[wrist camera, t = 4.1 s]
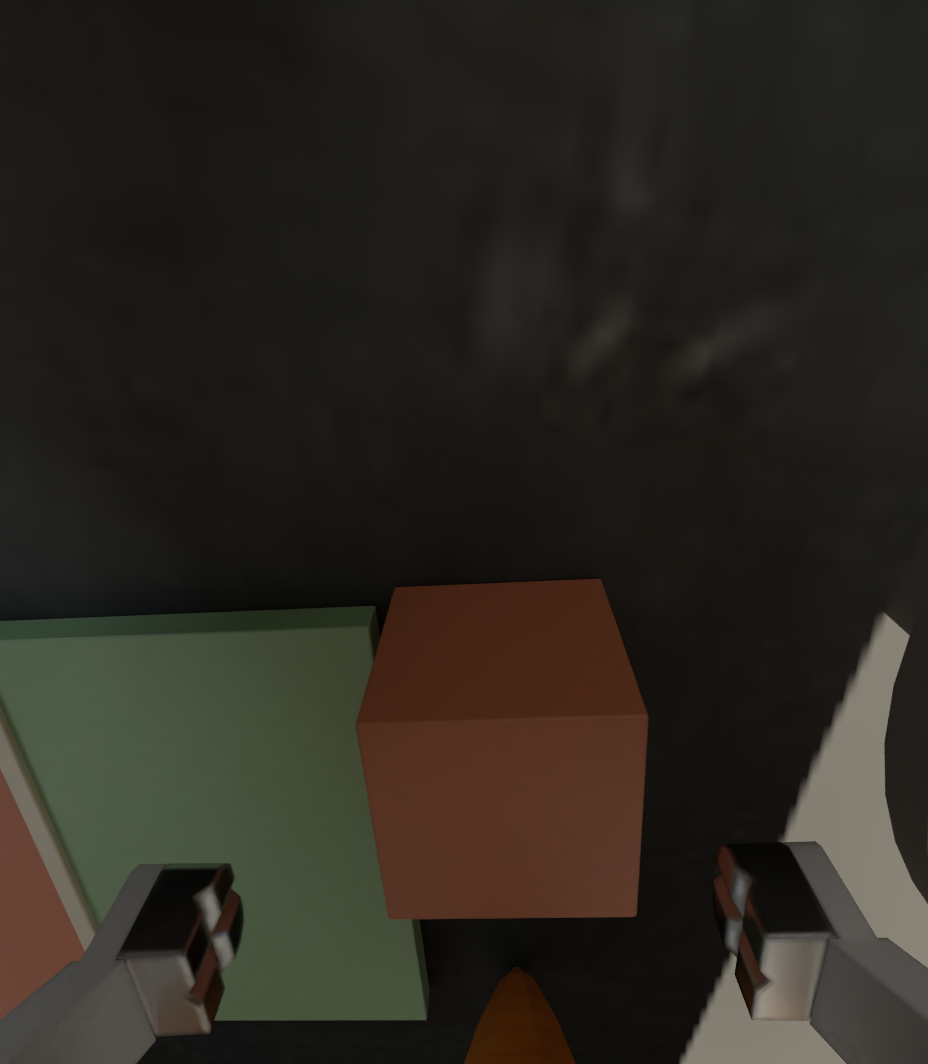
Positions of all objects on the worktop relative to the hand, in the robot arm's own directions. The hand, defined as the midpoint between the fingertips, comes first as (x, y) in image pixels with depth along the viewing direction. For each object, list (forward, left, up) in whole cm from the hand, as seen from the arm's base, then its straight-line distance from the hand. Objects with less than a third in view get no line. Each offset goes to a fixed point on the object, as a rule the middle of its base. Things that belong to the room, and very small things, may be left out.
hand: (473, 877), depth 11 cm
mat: (+12, +6, -6) cm, 15 cm away
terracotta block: (-1, 0, -6) cm, 6 cm away
